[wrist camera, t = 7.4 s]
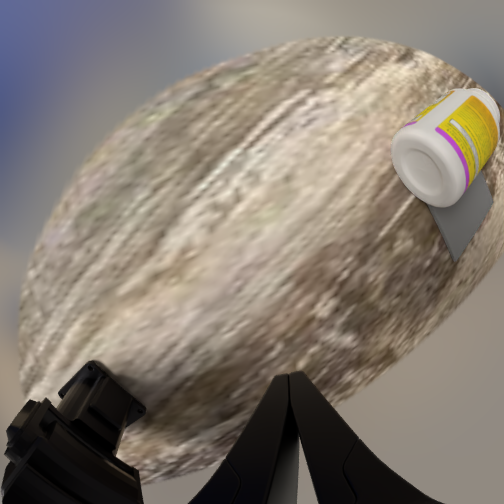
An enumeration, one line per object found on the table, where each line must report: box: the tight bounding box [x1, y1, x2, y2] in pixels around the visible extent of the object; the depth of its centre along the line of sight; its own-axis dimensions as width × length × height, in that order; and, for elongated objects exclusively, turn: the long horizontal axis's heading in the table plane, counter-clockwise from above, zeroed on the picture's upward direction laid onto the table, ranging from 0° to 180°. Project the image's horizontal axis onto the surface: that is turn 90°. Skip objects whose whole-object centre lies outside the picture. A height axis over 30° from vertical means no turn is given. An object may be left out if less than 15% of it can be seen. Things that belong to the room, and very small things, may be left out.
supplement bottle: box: [391, 88, 500, 208], centre depth 16 cm, size 7×7×13 cm
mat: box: [426, 170, 493, 262], centre depth 21 cm, size 10×13×1 cm
